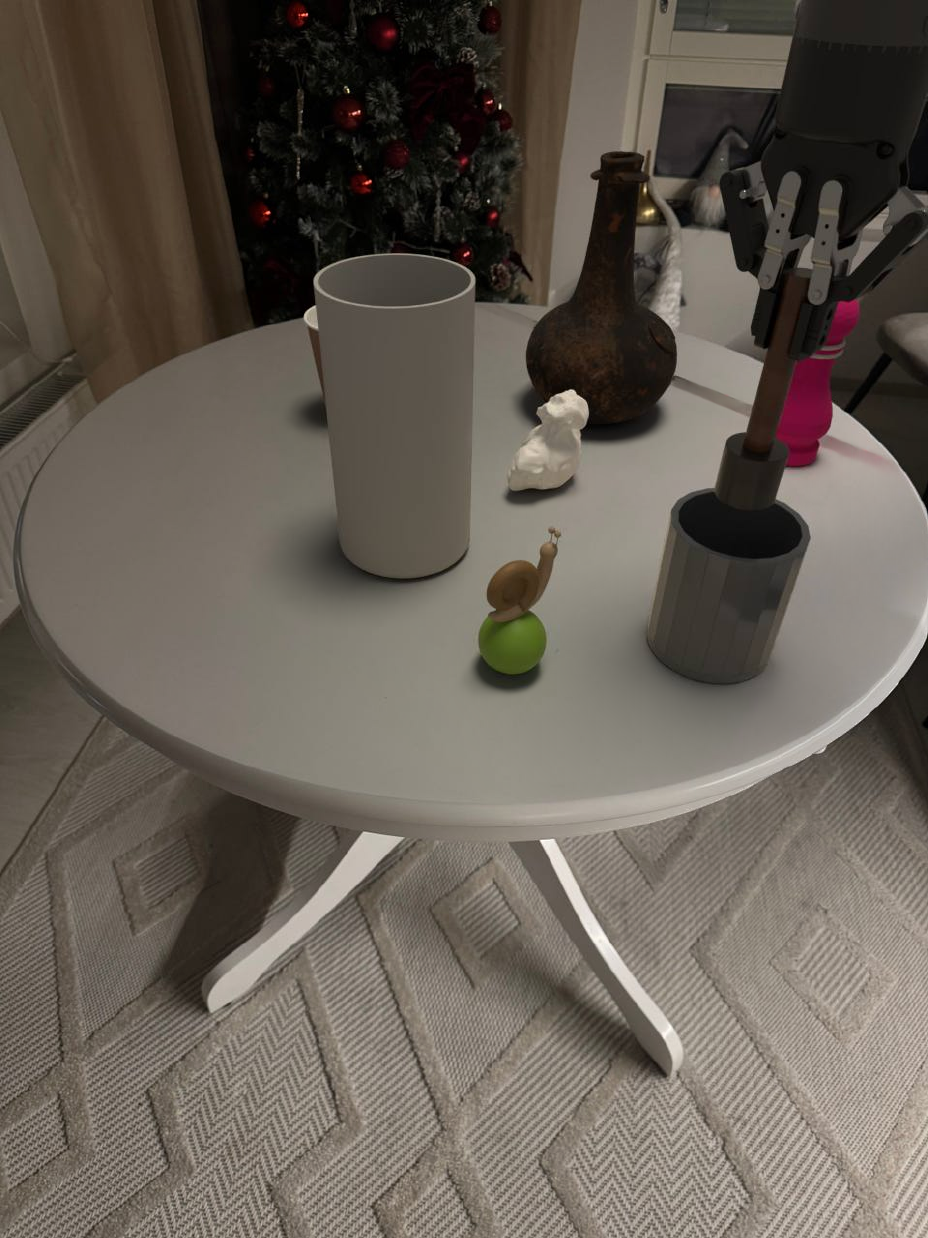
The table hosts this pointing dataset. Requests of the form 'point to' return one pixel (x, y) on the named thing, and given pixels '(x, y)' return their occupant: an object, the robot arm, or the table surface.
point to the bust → (551, 445)
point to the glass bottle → (606, 314)
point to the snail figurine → (517, 613)
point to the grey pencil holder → (724, 586)
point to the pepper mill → (814, 392)
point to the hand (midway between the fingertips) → (783, 349)
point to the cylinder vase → (399, 408)
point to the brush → (765, 413)
